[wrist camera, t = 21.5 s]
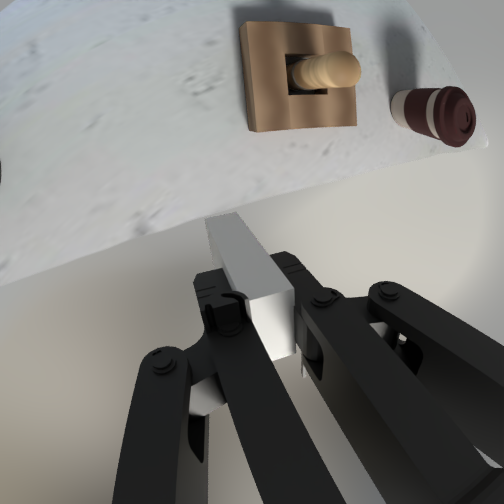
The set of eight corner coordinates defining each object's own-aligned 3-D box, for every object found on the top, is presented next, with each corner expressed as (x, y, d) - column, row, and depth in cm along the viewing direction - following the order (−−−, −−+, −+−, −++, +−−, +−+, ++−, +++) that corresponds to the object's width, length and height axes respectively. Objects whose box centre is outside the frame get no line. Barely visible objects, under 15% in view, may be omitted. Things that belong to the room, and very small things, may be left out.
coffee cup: (378, 122, 47) (441, 134, 34) (391, 74, 44) (454, 75, 31) (413, 141, 51) (472, 158, 38) (425, 97, 47) (485, 106, 34)
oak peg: (282, 91, 41) (328, 88, 29) (279, 62, 39) (324, 48, 27) (310, 90, 42) (363, 89, 30) (307, 62, 40) (360, 51, 28)
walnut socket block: (249, 130, 42) (257, 132, 39) (238, 28, 35) (246, 21, 31) (343, 123, 46) (356, 126, 42) (336, 32, 38) (349, 28, 35)
